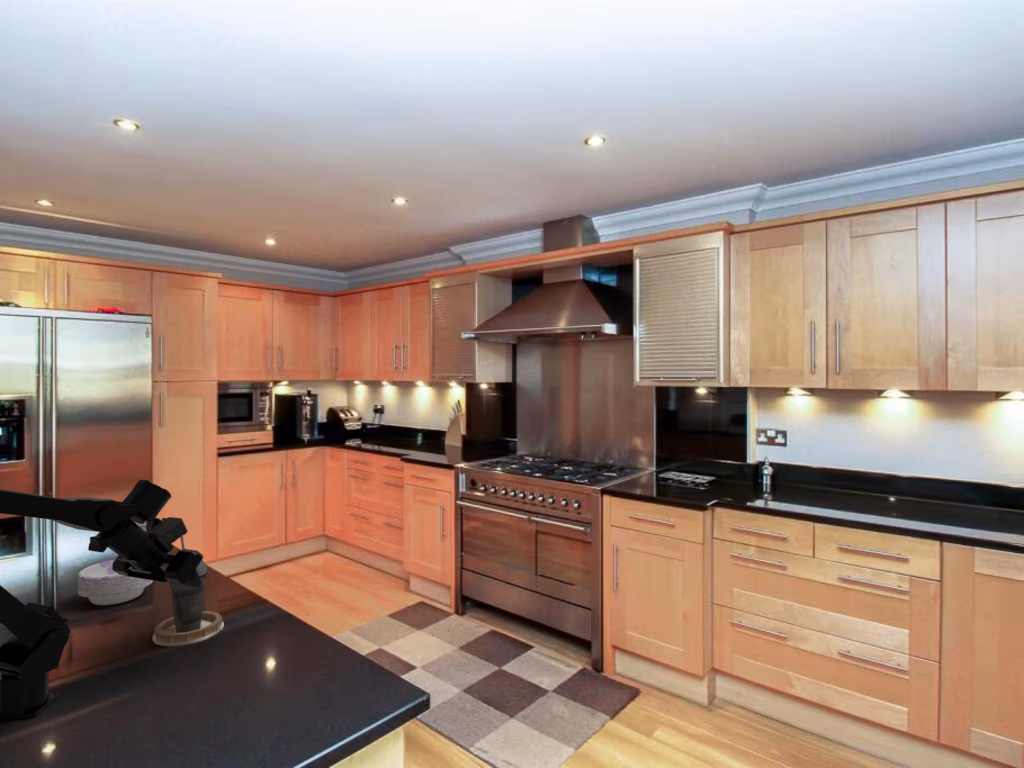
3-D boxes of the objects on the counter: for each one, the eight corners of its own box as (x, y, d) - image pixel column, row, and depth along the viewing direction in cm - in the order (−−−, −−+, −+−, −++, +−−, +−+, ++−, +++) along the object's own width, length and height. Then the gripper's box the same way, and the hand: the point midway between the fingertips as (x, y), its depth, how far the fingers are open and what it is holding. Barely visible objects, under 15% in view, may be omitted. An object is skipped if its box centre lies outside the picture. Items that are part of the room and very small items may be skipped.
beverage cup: (203, 635, 116) (202, 537, 116) (163, 639, 114) (162, 540, 115) (211, 621, 123) (211, 529, 123) (174, 625, 121) (174, 531, 122)
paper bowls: (75, 616, 128) (74, 581, 128) (80, 595, 141) (80, 563, 141) (154, 601, 136) (154, 568, 136) (153, 583, 149) (153, 553, 149)
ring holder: (211, 643, 114) (211, 633, 114) (140, 648, 112) (140, 638, 112) (232, 617, 127) (232, 608, 127) (168, 621, 124) (168, 612, 124)
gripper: (194, 510, 110) (239, 552, 120) (127, 504, 116) (175, 544, 126) (156, 562, 102) (208, 602, 113) (86, 552, 109) (141, 591, 119)
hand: (183, 582), depth 118 cm, fingers open, 9 cm apart
